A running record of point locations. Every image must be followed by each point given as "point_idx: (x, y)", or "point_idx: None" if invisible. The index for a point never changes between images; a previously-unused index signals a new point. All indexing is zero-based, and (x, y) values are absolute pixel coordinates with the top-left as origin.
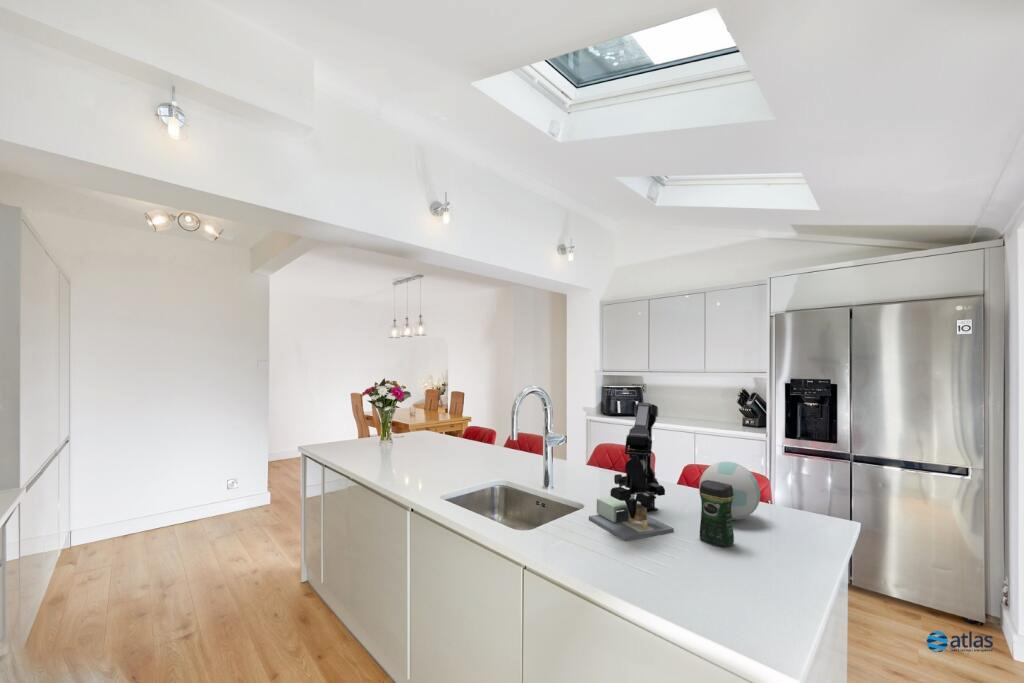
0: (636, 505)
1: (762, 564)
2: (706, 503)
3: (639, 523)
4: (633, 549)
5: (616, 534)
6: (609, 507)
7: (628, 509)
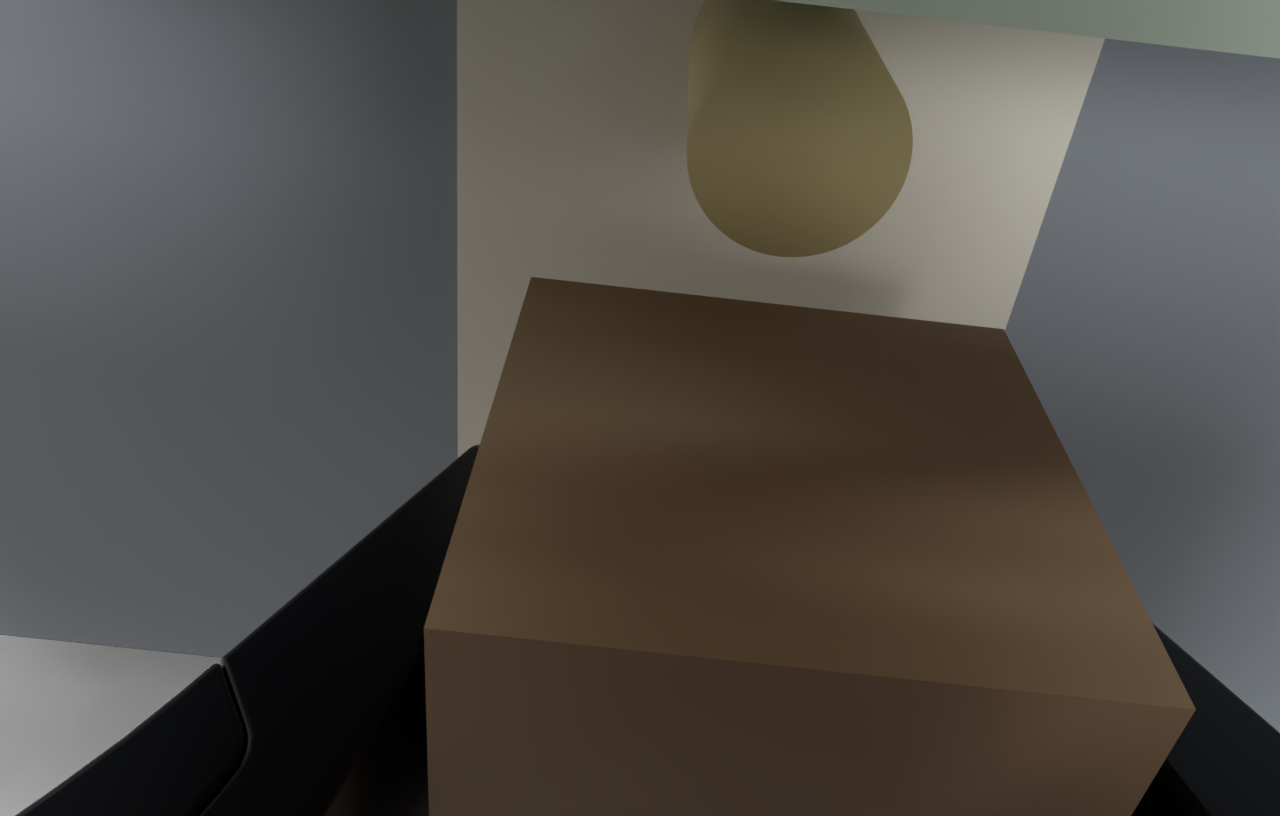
0: (806, 800)
1: None
2: None
3: (899, 292)
4: (23, 801)
5: None
6: None
7: (279, 621)
